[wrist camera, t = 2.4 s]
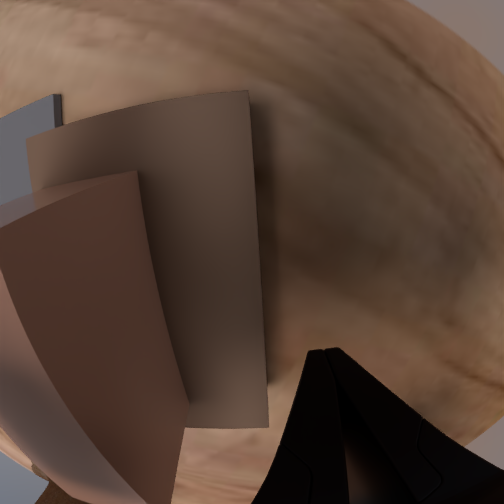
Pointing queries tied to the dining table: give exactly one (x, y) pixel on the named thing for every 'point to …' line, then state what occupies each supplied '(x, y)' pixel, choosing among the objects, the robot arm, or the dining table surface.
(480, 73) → the dining table surface
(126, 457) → the salmon pink block
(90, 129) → the ledge
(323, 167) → the dining table surface
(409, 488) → the robot arm
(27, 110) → the mat
